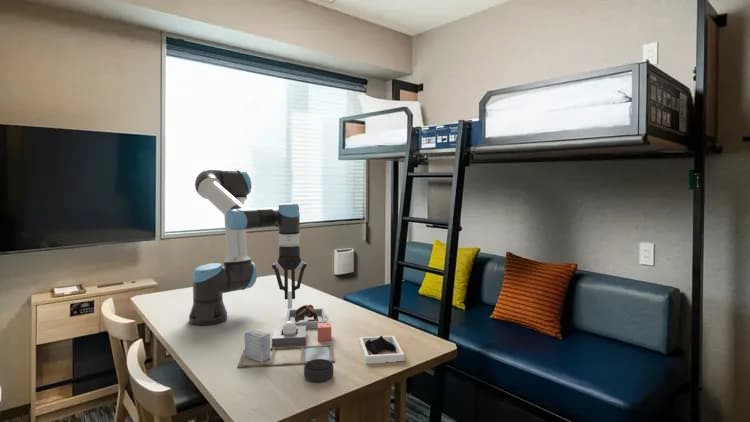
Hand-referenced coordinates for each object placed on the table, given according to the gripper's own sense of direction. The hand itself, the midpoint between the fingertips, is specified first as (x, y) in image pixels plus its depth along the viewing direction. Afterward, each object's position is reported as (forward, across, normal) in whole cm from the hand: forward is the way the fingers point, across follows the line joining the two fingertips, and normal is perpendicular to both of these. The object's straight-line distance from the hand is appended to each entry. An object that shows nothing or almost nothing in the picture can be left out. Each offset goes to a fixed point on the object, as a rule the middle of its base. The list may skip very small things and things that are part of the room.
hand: (290, 307), depth 157 cm
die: (+13, +13, 0) cm, 18 cm away
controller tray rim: (+13, +32, -16) cm, 38 cm away
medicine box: (+13, -10, -15) cm, 22 cm away
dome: (+11, 0, 0) cm, 11 cm away
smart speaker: (+13, +10, -31) cm, 35 cm away
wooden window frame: (+13, 0, -15) cm, 19 cm away
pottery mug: (+13, +6, +20) cm, 24 cm away
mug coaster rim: (+12, +6, +20) cm, 24 cm away
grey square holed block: (+12, 0, 0) cm, 12 cm away
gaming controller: (+13, +31, -15) cm, 37 cm away
